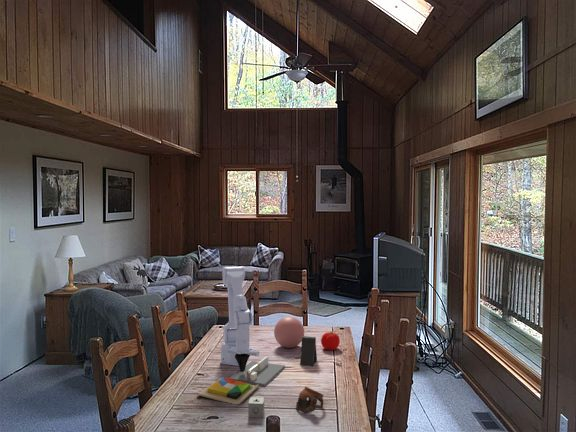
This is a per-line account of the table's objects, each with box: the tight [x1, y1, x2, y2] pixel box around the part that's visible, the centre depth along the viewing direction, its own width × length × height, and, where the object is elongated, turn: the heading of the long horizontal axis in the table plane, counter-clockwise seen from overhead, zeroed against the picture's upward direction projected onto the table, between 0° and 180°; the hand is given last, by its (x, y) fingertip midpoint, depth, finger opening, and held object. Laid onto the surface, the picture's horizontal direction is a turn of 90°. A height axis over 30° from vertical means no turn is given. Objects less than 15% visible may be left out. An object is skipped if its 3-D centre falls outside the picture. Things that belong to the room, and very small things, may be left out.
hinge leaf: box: [247, 364, 259, 380], centre depth 190 cm, size 11×1×3 cm, turn 159°
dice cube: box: [247, 396, 265, 419], centre depth 157 cm, size 5×5×5 cm
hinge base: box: [229, 355, 285, 387], centre depth 194 cm, size 16×22×4 cm
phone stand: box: [299, 335, 318, 367], centre depth 208 cm, size 9×6×12 cm, turn 164°
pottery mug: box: [295, 386, 324, 414], centre depth 161 cm, size 12×10×8 cm
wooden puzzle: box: [196, 376, 259, 406], centre depth 175 cm, size 18×19×4 cm
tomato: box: [320, 331, 341, 351], centre depth 228 cm, size 9×10×8 cm
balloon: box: [273, 316, 305, 349], centre depth 232 cm, size 15×20×15 cm
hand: (242, 370), depth 191 cm, fingers closed
